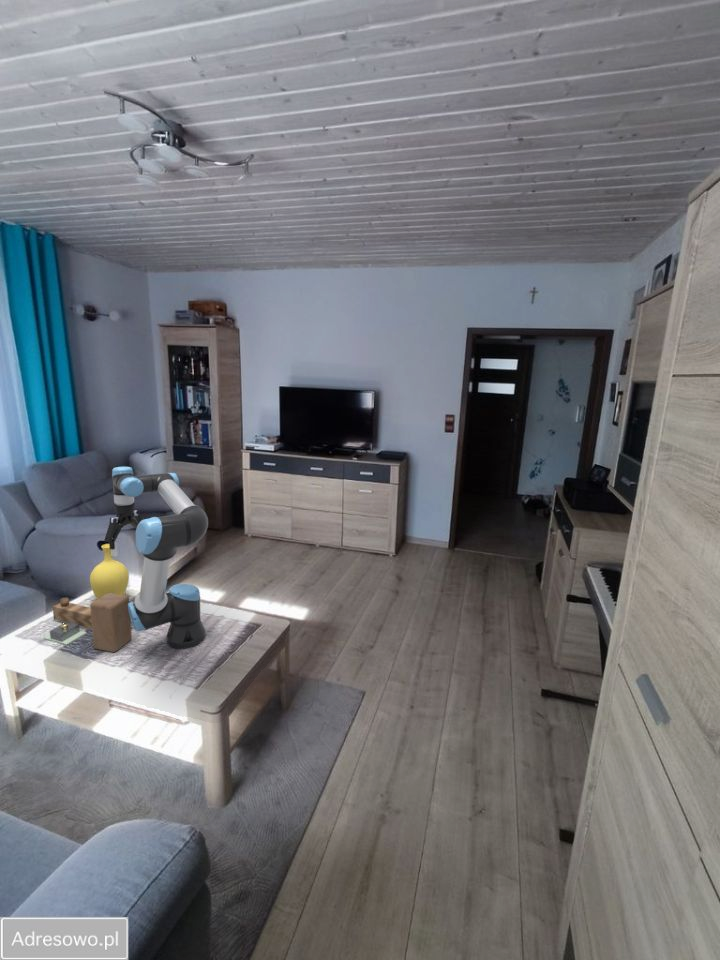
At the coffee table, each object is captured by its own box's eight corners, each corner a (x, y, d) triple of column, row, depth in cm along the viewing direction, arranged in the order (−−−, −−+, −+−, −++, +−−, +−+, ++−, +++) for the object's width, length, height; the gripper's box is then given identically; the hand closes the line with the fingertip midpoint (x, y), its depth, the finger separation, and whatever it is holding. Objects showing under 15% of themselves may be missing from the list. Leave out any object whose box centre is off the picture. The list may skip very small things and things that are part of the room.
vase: (83, 605, 202) (78, 549, 196) (108, 590, 217) (104, 538, 211) (114, 610, 199) (110, 553, 194) (137, 594, 215) (134, 541, 209)
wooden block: (114, 653, 168) (111, 607, 164) (92, 649, 170) (88, 603, 166) (132, 639, 178) (130, 595, 174) (111, 635, 180) (108, 591, 175)
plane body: (111, 626, 186) (109, 599, 183) (100, 633, 181) (98, 604, 178) (64, 615, 193) (62, 588, 190) (53, 621, 188) (50, 593, 185)
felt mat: (86, 633, 180) (86, 632, 180) (66, 645, 172) (66, 644, 171) (64, 627, 183) (64, 626, 183) (43, 639, 175) (43, 637, 175)
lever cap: (79, 631, 180) (78, 621, 179) (62, 641, 173) (60, 631, 172) (68, 628, 182) (67, 618, 181) (50, 638, 174) (49, 628, 173)
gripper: (139, 495, 195) (142, 540, 199) (91, 509, 171) (95, 559, 175) (153, 497, 193) (155, 542, 197) (106, 511, 169) (110, 562, 173)
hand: (127, 550), depth 186 cm, fingers open, 13 cm apart
